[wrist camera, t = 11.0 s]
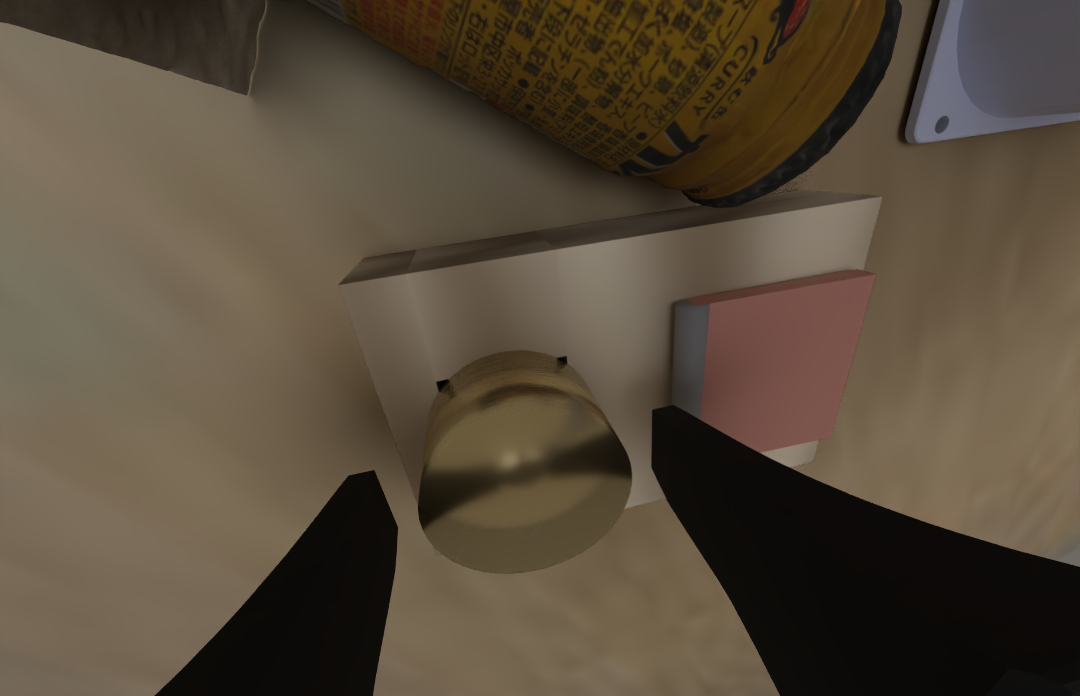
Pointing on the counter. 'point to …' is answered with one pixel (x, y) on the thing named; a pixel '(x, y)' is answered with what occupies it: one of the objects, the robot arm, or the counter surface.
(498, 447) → the peg
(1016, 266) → the counter surface
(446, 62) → the condiment
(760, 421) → the plate
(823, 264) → the block
